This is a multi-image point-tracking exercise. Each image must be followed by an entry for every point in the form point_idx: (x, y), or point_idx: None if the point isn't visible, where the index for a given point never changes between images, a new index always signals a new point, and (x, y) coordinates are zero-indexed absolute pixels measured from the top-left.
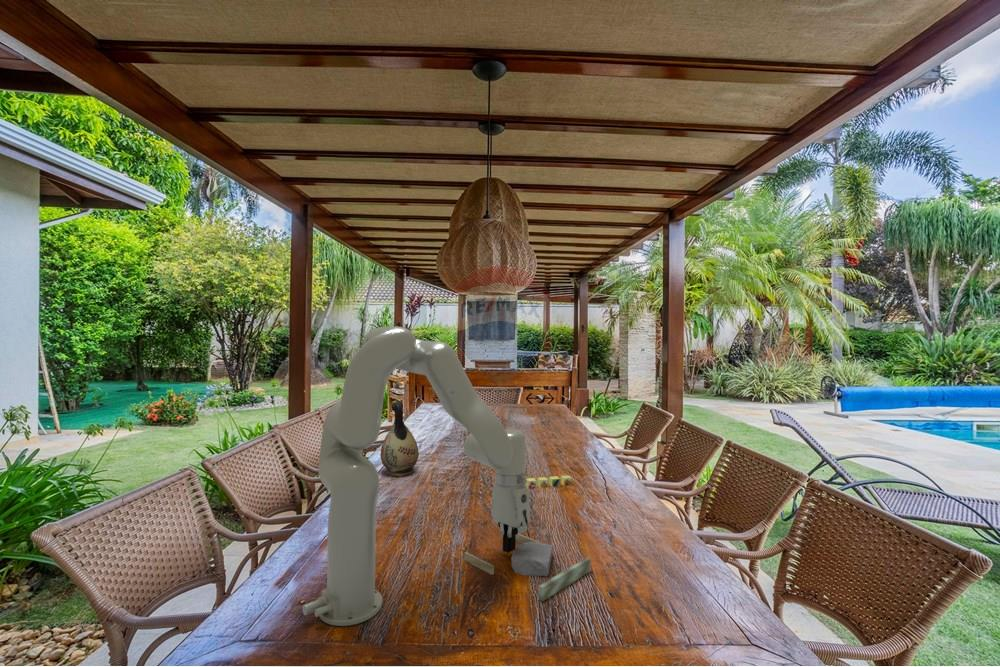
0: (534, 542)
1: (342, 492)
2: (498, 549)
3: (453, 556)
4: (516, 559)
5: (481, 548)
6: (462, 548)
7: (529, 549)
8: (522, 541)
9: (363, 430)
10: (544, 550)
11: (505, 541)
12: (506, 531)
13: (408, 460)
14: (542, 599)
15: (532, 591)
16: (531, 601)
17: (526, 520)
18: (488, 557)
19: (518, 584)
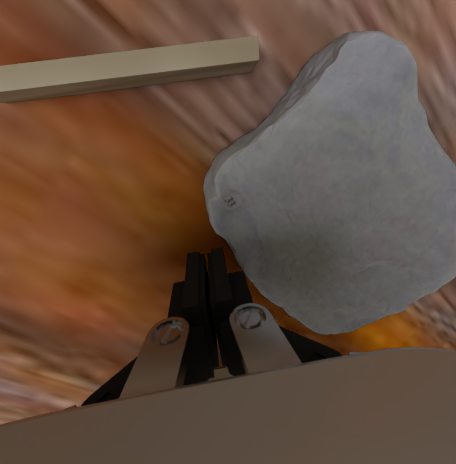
0: (288, 138)
1: None
2: (106, 250)
3: (77, 406)
4: (336, 329)
5: (57, 305)
6: (21, 363)
7: (320, 225)
8: (102, 87)
9: None
10: (407, 166)
11: (216, 341)
12: (200, 377)
13: None
14: None
15: (428, 320)
16: (450, 347)
17: (426, 366)
18: (154, 320)
19: (372, 331)
